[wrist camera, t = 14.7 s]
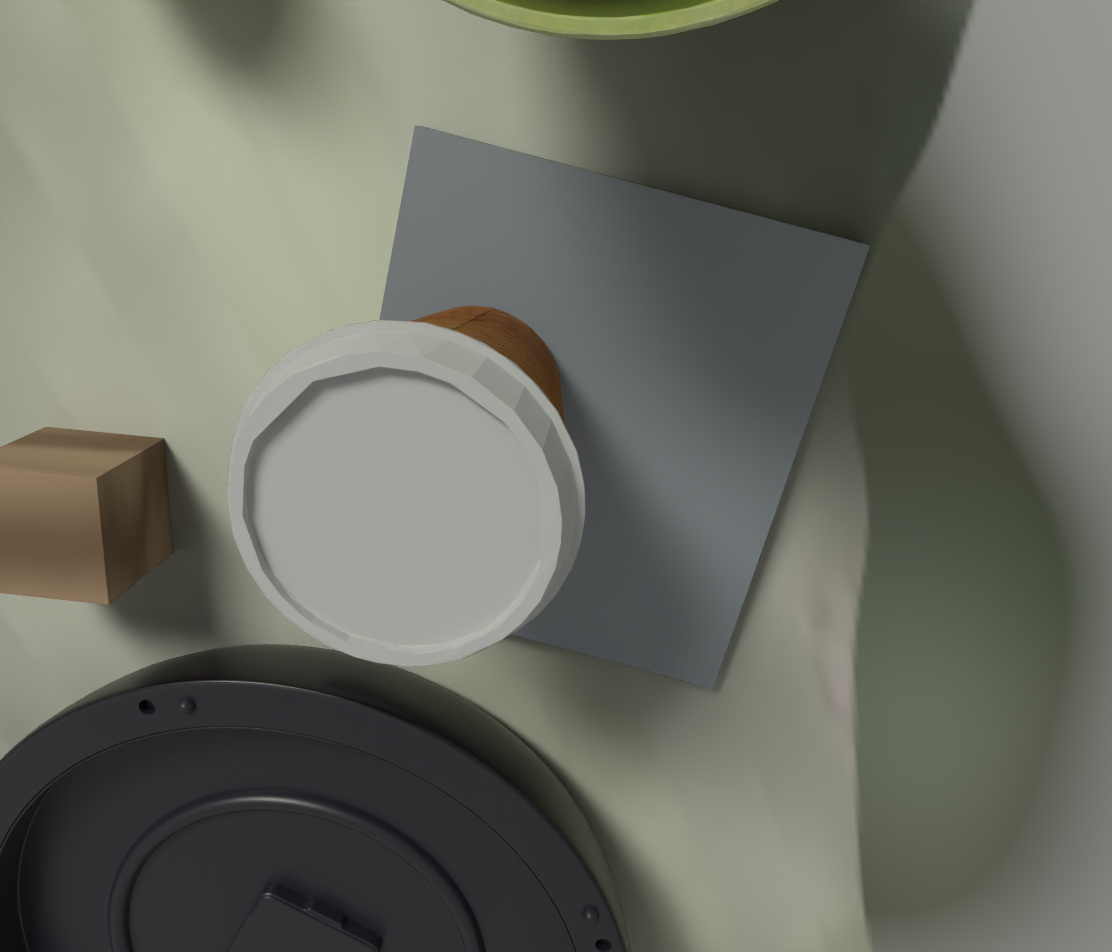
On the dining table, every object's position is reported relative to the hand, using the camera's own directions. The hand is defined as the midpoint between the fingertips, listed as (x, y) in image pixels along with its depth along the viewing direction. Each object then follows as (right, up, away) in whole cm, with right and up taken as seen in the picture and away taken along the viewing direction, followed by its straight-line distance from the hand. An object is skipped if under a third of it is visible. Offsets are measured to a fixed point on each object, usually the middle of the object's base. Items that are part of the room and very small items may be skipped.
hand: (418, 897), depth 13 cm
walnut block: (-17, +5, +26) cm, 32 cm away
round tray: (-9, -14, +33) cm, 37 cm away
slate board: (+3, +8, +23) cm, 25 cm away
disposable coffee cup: (-1, +9, +22) cm, 24 cm away
